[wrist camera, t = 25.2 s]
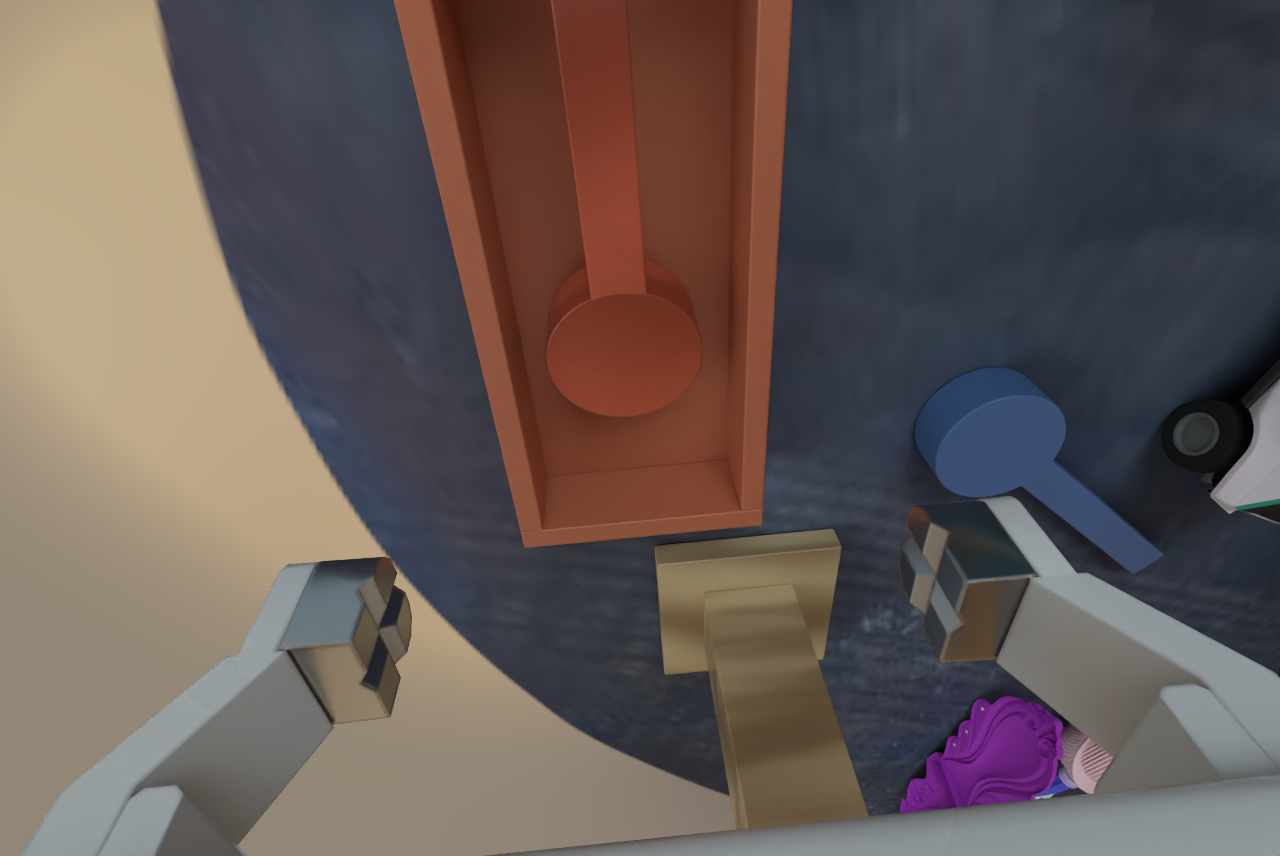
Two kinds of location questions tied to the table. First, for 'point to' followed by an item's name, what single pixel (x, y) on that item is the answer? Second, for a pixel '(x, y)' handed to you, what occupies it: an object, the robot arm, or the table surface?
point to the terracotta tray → (672, 237)
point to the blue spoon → (1018, 456)
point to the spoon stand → (763, 668)
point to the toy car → (1233, 447)
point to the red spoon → (612, 238)
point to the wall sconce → (1007, 759)
